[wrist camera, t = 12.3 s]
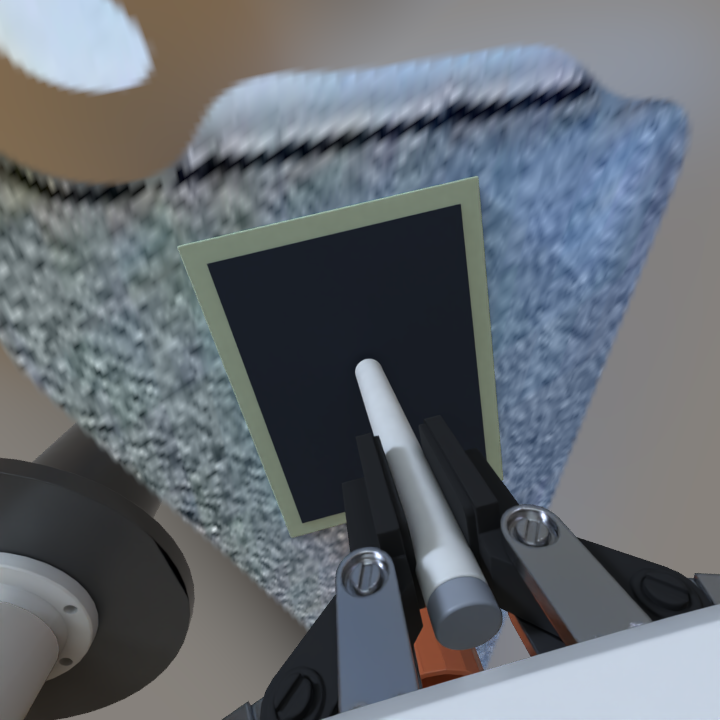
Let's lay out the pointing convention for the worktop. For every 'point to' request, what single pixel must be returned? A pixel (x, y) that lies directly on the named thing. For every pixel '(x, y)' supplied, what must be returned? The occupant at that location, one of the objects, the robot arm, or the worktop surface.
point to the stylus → (430, 525)
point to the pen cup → (442, 657)
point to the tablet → (351, 333)
